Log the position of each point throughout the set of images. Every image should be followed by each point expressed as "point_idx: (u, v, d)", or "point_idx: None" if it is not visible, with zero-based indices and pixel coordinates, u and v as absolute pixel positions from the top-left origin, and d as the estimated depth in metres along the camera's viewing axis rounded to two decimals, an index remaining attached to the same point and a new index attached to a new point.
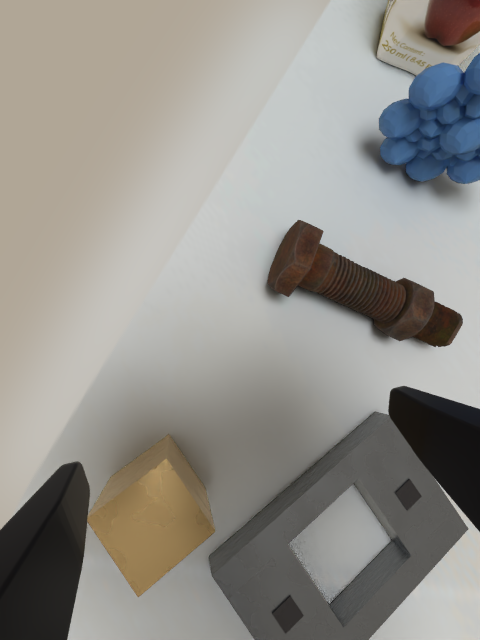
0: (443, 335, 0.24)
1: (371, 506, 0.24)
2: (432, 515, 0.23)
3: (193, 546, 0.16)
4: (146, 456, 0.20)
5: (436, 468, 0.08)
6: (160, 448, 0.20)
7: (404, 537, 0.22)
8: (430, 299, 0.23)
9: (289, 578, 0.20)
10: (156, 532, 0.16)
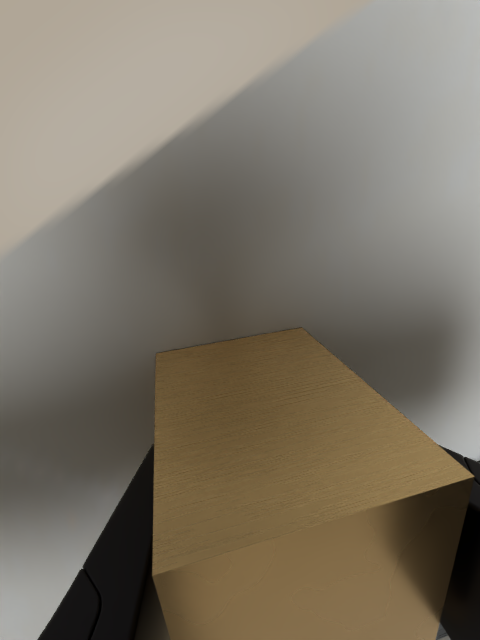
0: None
1: None
2: None
3: None
4: (274, 365, 0.08)
5: None
6: (325, 370, 0.08)
7: None
8: None
9: None
10: (323, 638, 0.05)
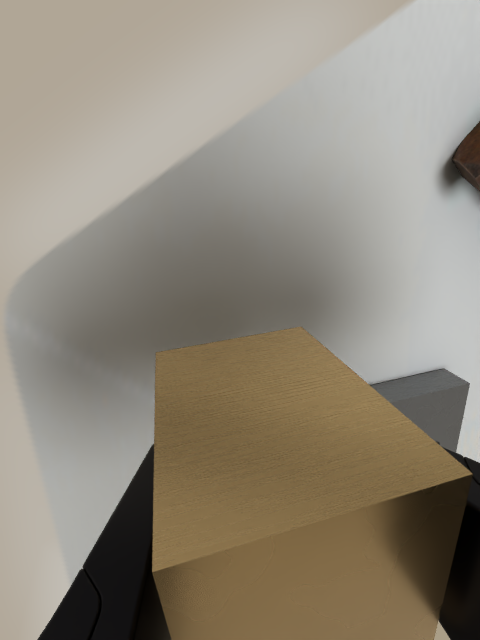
0: None
1: None
2: None
3: None
4: (273, 364, 0.08)
5: None
6: (324, 369, 0.08)
7: None
8: None
9: None
10: (322, 635, 0.05)
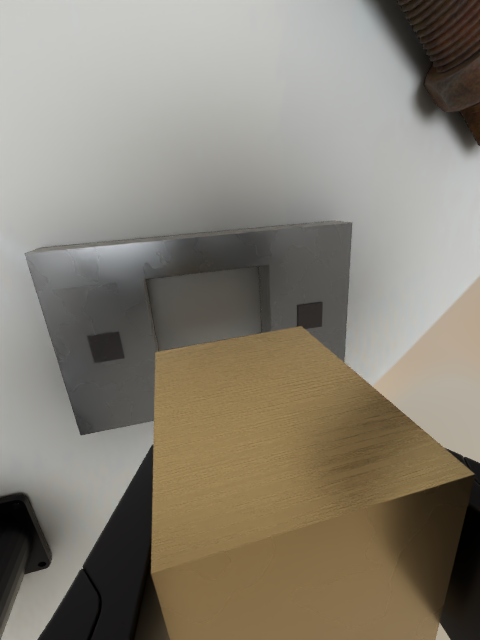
0: None
1: (263, 311, 0.19)
2: None
3: None
4: (273, 363, 0.08)
5: None
6: (325, 368, 0.07)
7: None
8: None
9: (126, 315, 0.16)
10: (323, 636, 0.05)
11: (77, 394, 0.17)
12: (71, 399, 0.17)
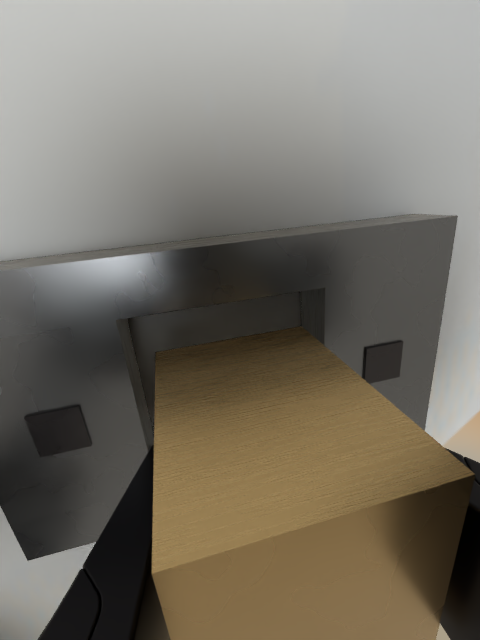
0: None
1: None
2: None
3: None
4: (274, 363, 0.08)
5: None
6: (325, 368, 0.07)
7: None
8: None
9: (91, 379, 0.09)
10: (323, 636, 0.05)
11: (16, 504, 0.10)
12: (7, 512, 0.10)
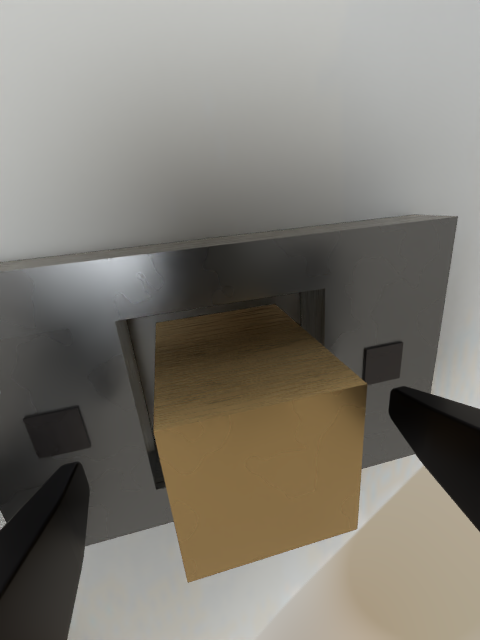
0: None
1: None
2: None
3: (313, 539, 0.08)
4: (247, 328, 0.10)
5: (436, 468, 0.08)
6: (285, 330, 0.10)
7: None
8: None
9: (90, 380, 0.09)
10: (270, 501, 0.07)
11: (15, 506, 0.10)
12: (5, 514, 0.10)
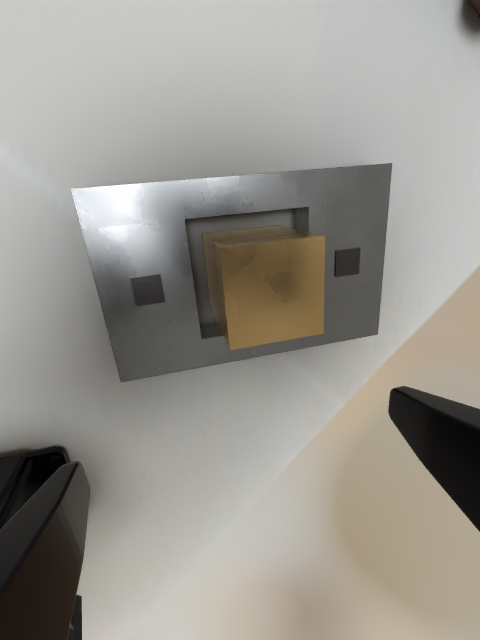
0: None
1: None
2: (355, 299, 0.19)
3: (298, 335, 0.15)
4: (260, 230, 0.17)
5: (436, 468, 0.08)
6: (284, 229, 0.16)
7: None
8: None
9: (168, 256, 0.16)
10: (274, 303, 0.14)
11: (118, 339, 0.17)
12: (113, 344, 0.17)
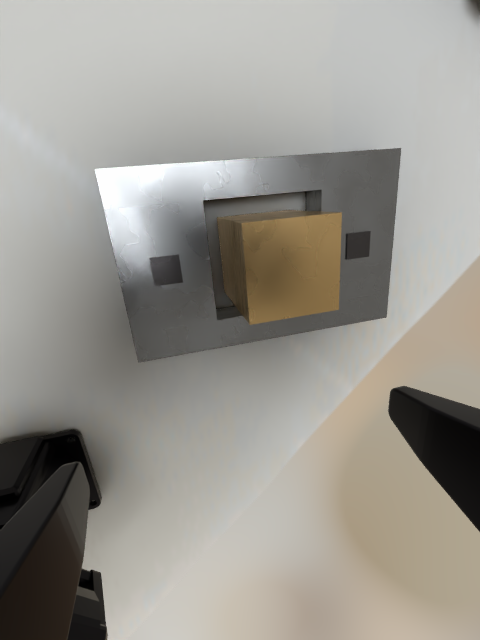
0: None
1: None
2: (365, 282, 0.20)
3: (315, 311, 0.15)
4: (275, 213, 0.17)
5: (436, 468, 0.08)
6: (298, 211, 0.17)
7: None
8: None
9: (186, 237, 0.16)
10: (293, 278, 0.14)
11: (137, 319, 0.17)
12: (131, 324, 0.17)
